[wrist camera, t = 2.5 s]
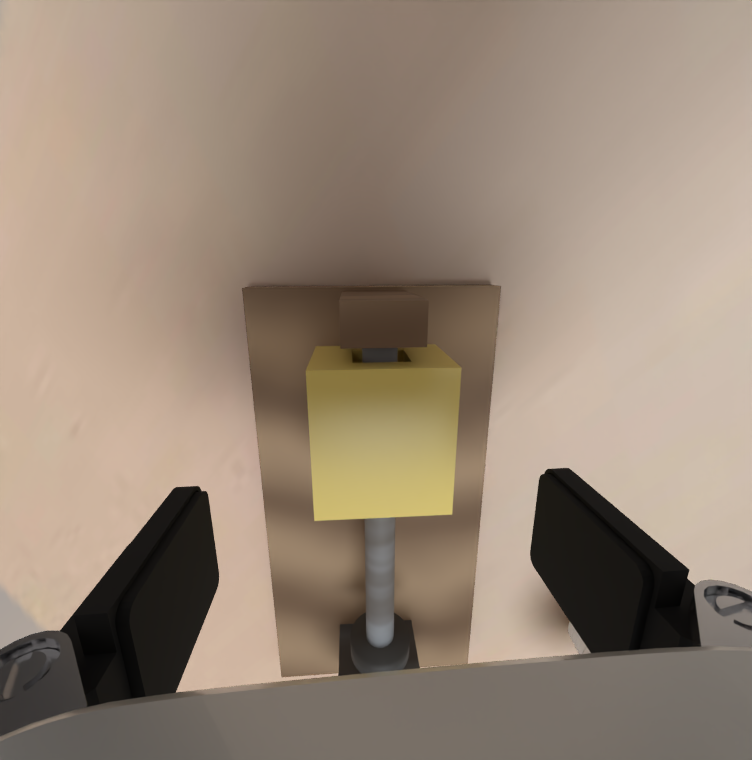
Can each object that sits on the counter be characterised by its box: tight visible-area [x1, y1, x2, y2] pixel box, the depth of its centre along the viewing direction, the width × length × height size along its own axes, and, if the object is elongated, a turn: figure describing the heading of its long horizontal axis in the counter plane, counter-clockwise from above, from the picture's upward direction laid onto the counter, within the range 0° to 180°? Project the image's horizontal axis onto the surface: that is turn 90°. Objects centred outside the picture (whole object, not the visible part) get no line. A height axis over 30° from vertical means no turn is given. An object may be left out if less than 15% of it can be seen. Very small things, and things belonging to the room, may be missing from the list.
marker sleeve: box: [306, 344, 461, 521], centre depth 16 cm, size 6×5×4 cm
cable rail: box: [242, 285, 501, 677], centre depth 19 cm, size 24×12×7 cm, turn 0°
